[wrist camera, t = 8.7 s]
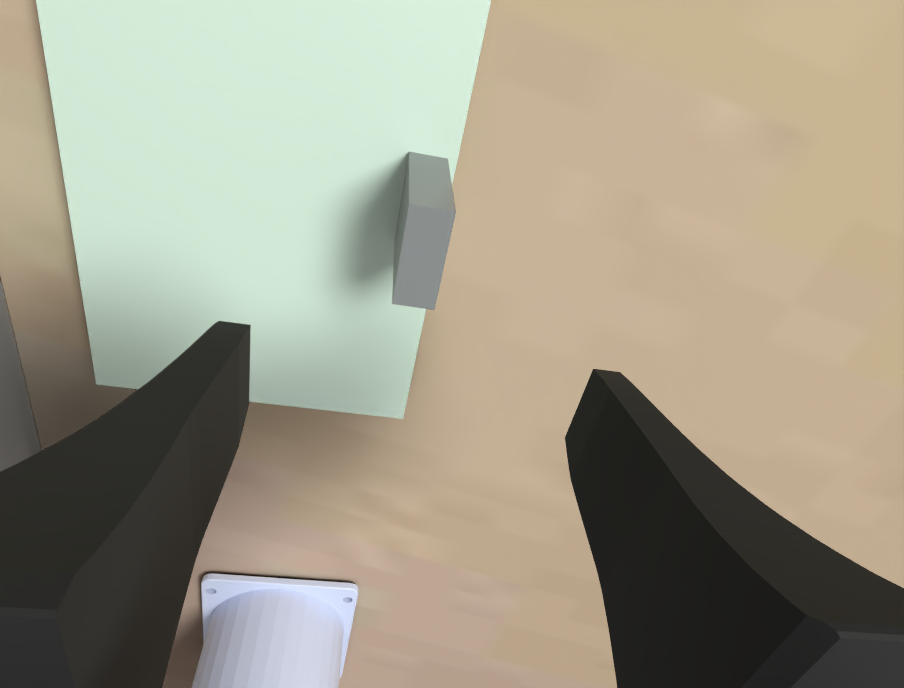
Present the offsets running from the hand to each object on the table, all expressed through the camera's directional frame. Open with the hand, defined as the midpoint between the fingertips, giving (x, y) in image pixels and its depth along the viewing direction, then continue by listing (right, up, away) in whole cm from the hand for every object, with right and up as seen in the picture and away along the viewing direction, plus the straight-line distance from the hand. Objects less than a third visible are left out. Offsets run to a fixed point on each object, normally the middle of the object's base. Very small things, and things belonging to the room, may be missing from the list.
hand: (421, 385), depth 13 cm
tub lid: (-5, +6, +6) cm, 11 cm away
